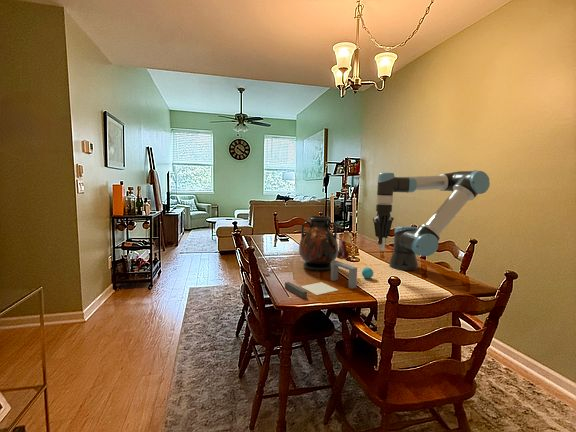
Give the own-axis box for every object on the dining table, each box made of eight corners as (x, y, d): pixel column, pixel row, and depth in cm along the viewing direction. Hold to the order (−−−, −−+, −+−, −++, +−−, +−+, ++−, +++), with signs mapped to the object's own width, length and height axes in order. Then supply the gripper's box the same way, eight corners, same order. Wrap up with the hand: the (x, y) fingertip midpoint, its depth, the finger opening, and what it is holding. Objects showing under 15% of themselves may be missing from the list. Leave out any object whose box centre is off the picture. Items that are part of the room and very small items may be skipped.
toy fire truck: (338, 259, 191) (339, 242, 190) (334, 254, 203) (334, 238, 202) (349, 259, 191) (350, 242, 190) (344, 254, 204) (345, 238, 203)
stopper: (288, 287, 139) (288, 281, 138) (306, 297, 127) (306, 291, 127) (284, 287, 138) (284, 282, 137) (302, 298, 126) (302, 292, 126)
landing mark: (321, 282, 146) (321, 282, 146) (338, 290, 136) (338, 289, 136) (300, 286, 140) (300, 286, 140) (316, 295, 130) (316, 294, 130)
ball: (367, 276, 157) (367, 265, 157) (375, 279, 153) (376, 268, 152) (359, 277, 155) (359, 266, 154) (367, 280, 150) (368, 269, 149)
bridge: (335, 278, 152) (335, 260, 151) (356, 287, 140) (357, 267, 139) (330, 279, 151) (331, 261, 149) (351, 288, 138) (352, 268, 137)
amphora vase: (336, 263, 181) (338, 215, 178) (338, 274, 159) (341, 220, 156) (299, 261, 183) (300, 214, 180) (297, 272, 161) (298, 219, 158)
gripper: (387, 203, 161) (384, 247, 164) (369, 203, 154) (366, 250, 157) (399, 204, 155) (396, 250, 157) (381, 204, 148) (378, 253, 151)
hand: (381, 250), depth 157 cm, fingers closed
